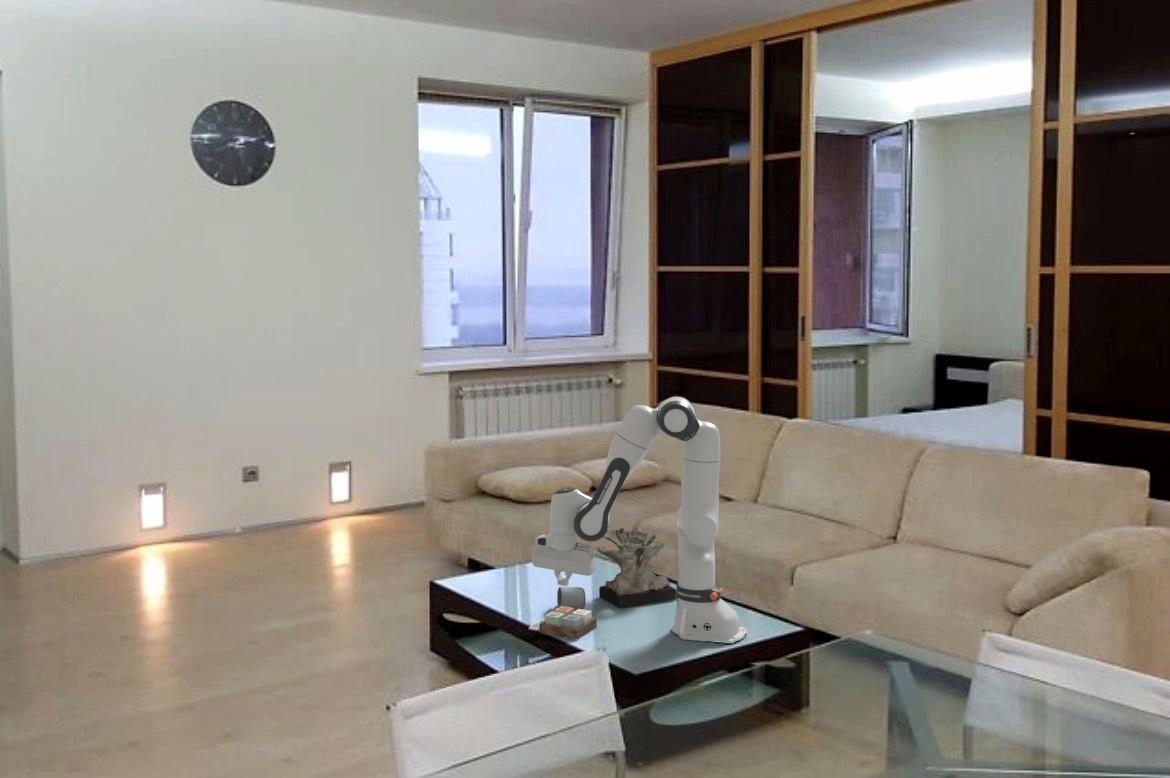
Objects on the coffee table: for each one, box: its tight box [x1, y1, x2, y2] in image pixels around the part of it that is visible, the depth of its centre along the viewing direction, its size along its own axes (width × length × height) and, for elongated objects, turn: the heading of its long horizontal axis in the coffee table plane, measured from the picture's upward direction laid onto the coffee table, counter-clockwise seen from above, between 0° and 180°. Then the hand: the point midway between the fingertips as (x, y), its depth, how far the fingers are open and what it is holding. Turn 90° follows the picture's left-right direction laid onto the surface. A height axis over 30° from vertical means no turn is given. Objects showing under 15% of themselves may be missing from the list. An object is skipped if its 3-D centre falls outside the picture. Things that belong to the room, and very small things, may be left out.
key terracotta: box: [554, 606, 575, 617], centre depth 354 cm, size 4×4×4 cm
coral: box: [595, 527, 676, 609], centre depth 382 cm, size 25×20×22 cm
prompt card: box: [528, 617, 545, 632], centre depth 354 cm, size 3×10×1 cm, turn 153°
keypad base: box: [538, 616, 598, 640], centre depth 350 cm, size 13×13×3 cm
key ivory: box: [572, 609, 593, 623], centre depth 351 cm, size 4×4×4 cm
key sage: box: [544, 610, 565, 626], centre depth 348 cm, size 4×4×4 cm
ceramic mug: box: [556, 586, 586, 611], centre depth 371 cm, size 11×8×8 cm
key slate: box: [563, 614, 582, 629], centre depth 346 cm, size 4×4×4 cm
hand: (562, 585), depth 353 cm, fingers closed
